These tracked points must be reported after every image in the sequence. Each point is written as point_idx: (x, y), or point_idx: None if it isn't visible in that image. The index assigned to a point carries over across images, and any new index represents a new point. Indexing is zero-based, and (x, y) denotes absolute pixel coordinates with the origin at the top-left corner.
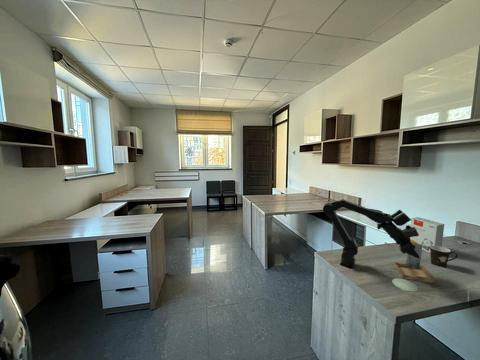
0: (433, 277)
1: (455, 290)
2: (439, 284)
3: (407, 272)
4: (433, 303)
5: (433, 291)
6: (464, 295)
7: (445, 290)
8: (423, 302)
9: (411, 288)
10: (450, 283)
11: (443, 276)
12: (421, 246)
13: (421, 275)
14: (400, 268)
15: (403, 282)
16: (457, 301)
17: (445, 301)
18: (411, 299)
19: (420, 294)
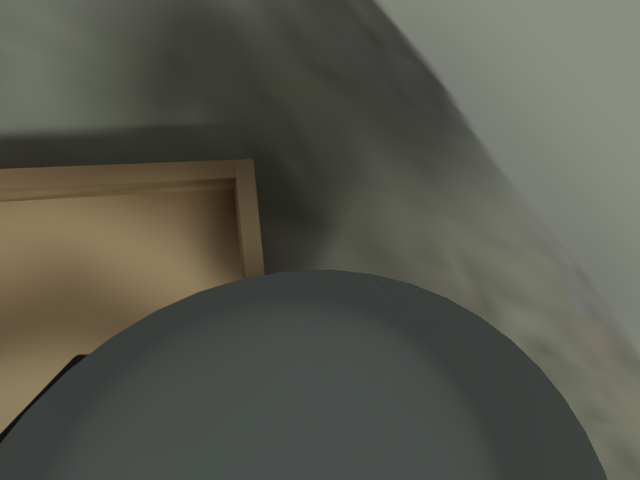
0: (210, 163)
1: (291, 51)
2: (234, 138)
3: None
4: (568, 300)
5: (392, 238)
6: (346, 23)
7: (329, 133)
8: (590, 368)
9: None
10: (168, 30)
11: (23, 23)
12: (468, 338)
13: (118, 250)
14: None
15: None
16: (461, 118)
17: (501, 204)
18: (595, 449)
19: None
